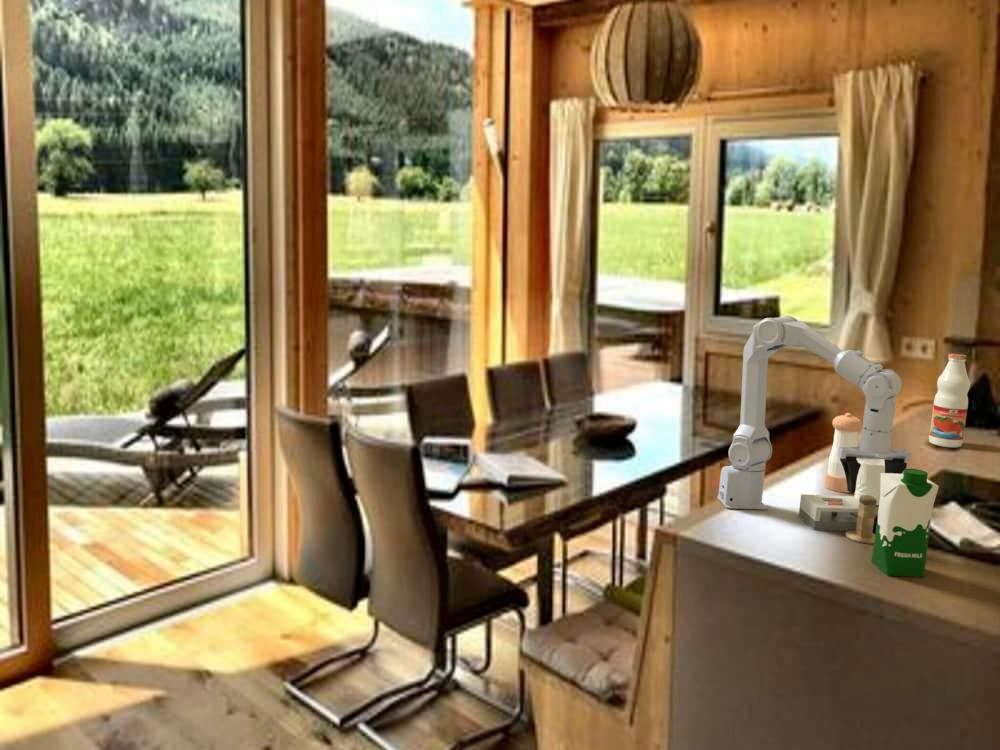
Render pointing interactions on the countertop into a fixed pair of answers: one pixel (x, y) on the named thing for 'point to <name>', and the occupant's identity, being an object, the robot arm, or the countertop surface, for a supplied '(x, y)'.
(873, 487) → the white cup
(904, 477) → the milk carton
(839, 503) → the button
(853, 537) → the coaster
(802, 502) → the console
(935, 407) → the fruit juice
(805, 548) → the countertop surface
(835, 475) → the pepper shaker
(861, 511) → the stick
